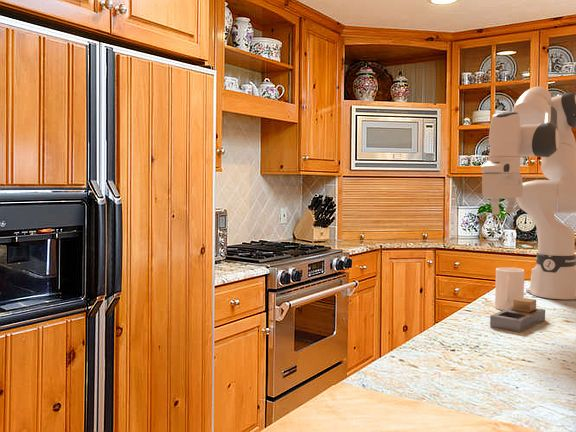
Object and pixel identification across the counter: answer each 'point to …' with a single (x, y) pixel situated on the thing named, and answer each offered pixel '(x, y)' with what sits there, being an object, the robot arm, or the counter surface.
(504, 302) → the mug
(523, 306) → the wooden toy block
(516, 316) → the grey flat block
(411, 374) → the counter surface
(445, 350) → the counter surface
